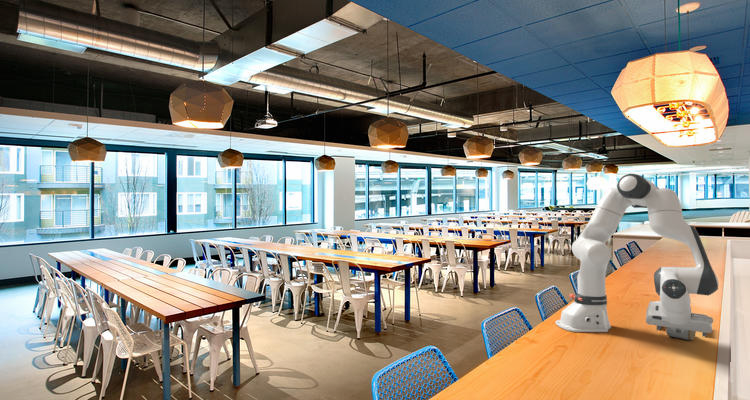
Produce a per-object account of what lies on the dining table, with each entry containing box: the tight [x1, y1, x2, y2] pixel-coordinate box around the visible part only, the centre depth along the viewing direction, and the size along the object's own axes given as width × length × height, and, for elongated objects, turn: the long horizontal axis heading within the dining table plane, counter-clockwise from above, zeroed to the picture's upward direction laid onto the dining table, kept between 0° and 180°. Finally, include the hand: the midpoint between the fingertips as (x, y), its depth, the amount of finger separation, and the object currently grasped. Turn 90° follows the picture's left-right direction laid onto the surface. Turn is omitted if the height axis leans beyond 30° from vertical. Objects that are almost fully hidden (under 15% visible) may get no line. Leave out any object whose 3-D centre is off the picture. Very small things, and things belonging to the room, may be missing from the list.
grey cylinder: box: [665, 327, 697, 341], centre depth 159 cm, size 11×8×8 cm
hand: (678, 331), depth 154 cm, fingers closed
